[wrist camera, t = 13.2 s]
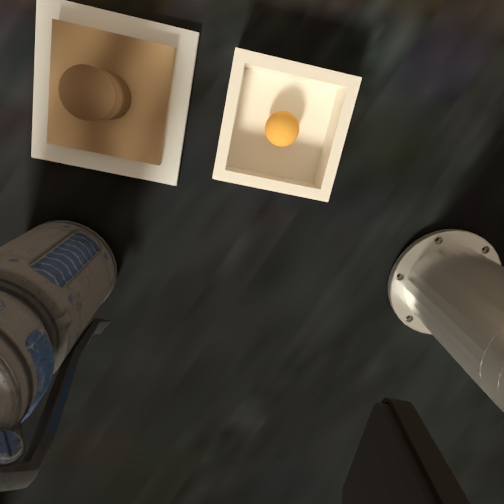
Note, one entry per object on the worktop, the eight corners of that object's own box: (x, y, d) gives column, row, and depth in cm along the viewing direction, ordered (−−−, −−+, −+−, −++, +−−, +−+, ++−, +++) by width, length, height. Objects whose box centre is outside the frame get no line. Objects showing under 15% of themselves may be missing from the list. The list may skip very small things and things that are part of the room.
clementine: (300, 114, 38) (305, 114, 35) (292, 148, 39) (297, 151, 36) (267, 107, 38) (270, 106, 35) (260, 141, 39) (262, 143, 36)
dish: (347, 81, 38) (362, 77, 34) (318, 193, 42) (328, 202, 38) (235, 54, 37) (235, 47, 33) (214, 172, 41) (212, 178, 36)
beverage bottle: (102, 334, 46) (-36, 565, 22) (-1, 262, 43) (-291, 446, 19) (157, 272, 44) (68, 456, 20) (53, 192, 41) (-198, 301, 17)
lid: (176, 49, 36) (163, 34, 29) (161, 164, 39) (146, 174, 33) (58, 21, 35) (15, -2, 28) (52, 142, 38) (12, 147, 31)
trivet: (199, 34, 37) (198, 32, 36) (177, 184, 41) (176, 185, 40) (41, -4, 35) (36, -7, 34) (35, 156, 39) (31, 157, 39)
